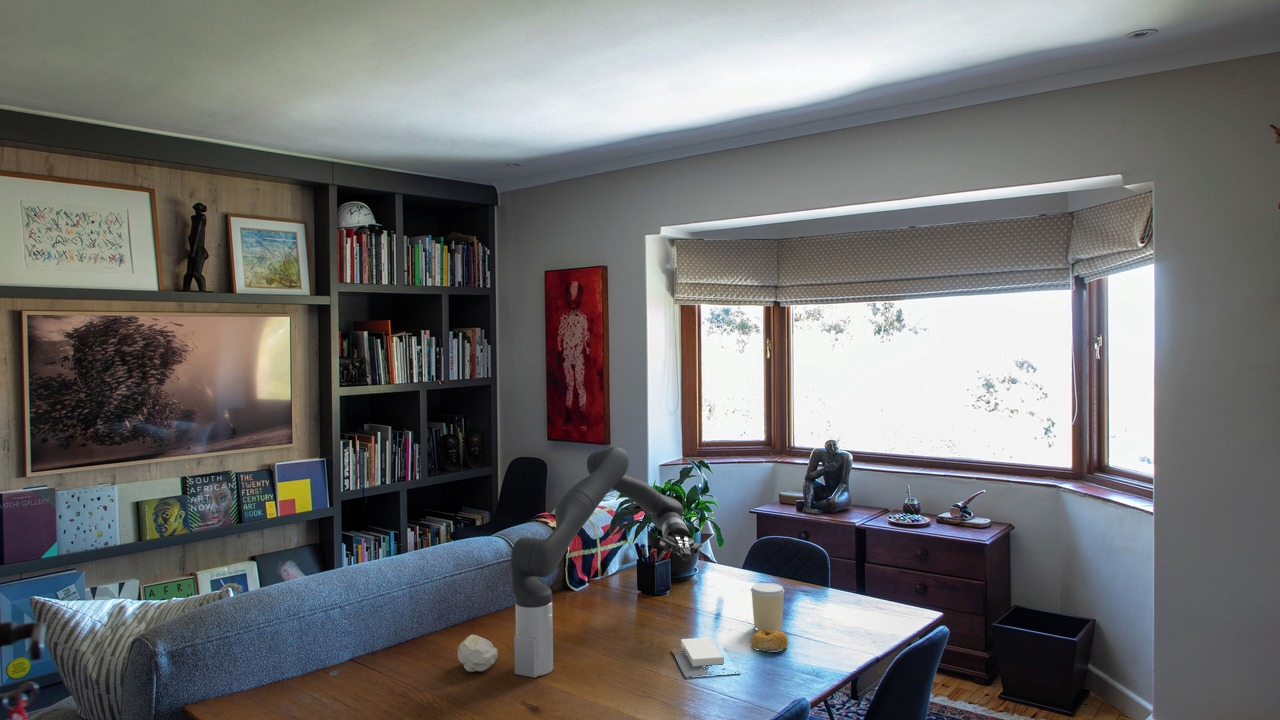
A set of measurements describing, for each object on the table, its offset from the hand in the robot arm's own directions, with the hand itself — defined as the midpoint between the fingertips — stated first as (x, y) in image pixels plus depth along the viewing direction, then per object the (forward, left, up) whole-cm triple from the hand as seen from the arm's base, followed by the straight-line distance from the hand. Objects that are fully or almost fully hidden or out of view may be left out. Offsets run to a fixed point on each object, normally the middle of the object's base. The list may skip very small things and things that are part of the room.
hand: (686, 557), depth 222 cm
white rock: (-39, +42, -23) cm, 62 cm away
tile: (-4, -4, -22) cm, 22 cm away
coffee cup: (+18, -17, -23) cm, 34 cm away
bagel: (+6, -22, -24) cm, 33 cm away
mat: (-12, -10, -23) cm, 28 cm away
